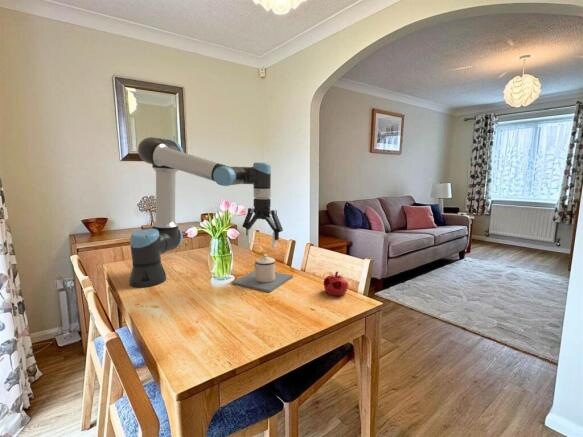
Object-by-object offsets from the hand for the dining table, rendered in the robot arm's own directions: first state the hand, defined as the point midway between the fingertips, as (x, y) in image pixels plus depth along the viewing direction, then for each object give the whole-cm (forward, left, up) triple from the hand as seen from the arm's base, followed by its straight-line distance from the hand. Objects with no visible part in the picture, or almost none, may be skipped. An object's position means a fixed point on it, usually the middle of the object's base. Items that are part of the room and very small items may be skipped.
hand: (262, 244), depth 133 cm
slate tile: (0, 0, -17) cm, 17 cm away
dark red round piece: (+34, +3, -17) cm, 38 cm away
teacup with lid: (+1, 0, -16) cm, 16 cm away
